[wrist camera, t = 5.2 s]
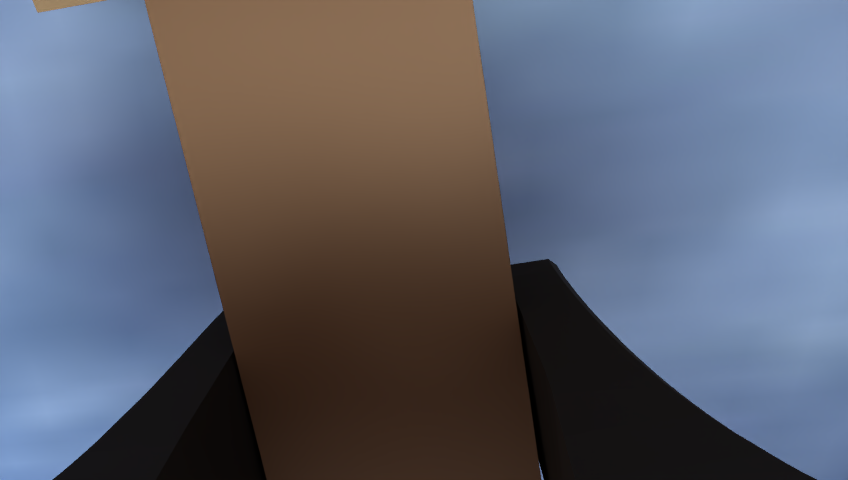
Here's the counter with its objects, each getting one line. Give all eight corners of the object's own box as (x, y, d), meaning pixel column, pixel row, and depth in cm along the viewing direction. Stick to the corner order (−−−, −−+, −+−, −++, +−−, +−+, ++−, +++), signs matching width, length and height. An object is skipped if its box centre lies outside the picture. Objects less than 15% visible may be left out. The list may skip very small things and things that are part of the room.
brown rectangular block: (532, 465, 16) (570, 686, 11) (366, 486, 17) (326, 712, 11) (429, -237, 13) (414, -407, 7) (218, -195, 13) (59, -331, 8)
